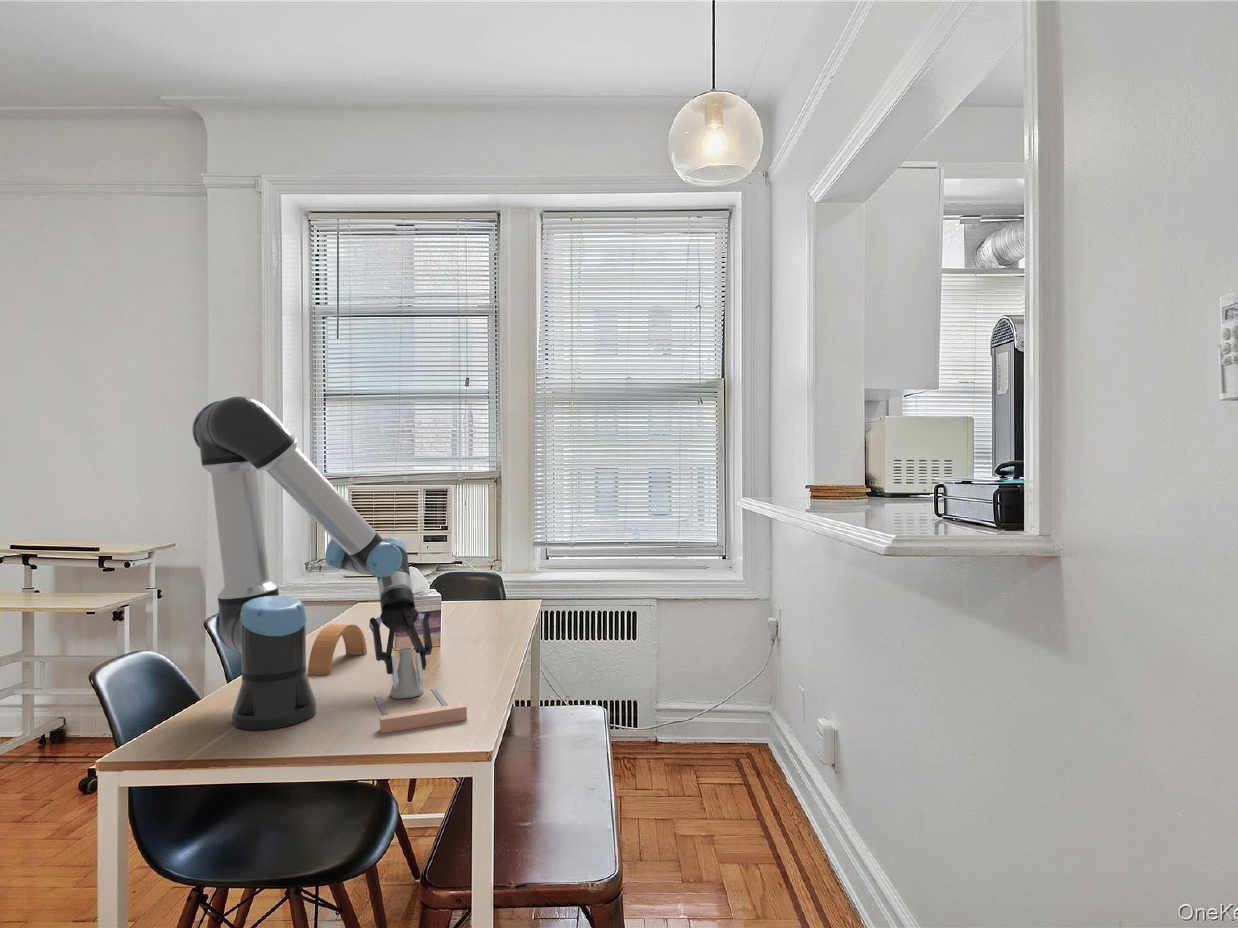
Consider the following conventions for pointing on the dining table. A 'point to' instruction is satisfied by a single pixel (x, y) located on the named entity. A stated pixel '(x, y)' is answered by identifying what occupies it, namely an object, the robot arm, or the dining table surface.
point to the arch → (326, 646)
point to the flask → (406, 677)
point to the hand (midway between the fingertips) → (408, 683)
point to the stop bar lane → (421, 716)
